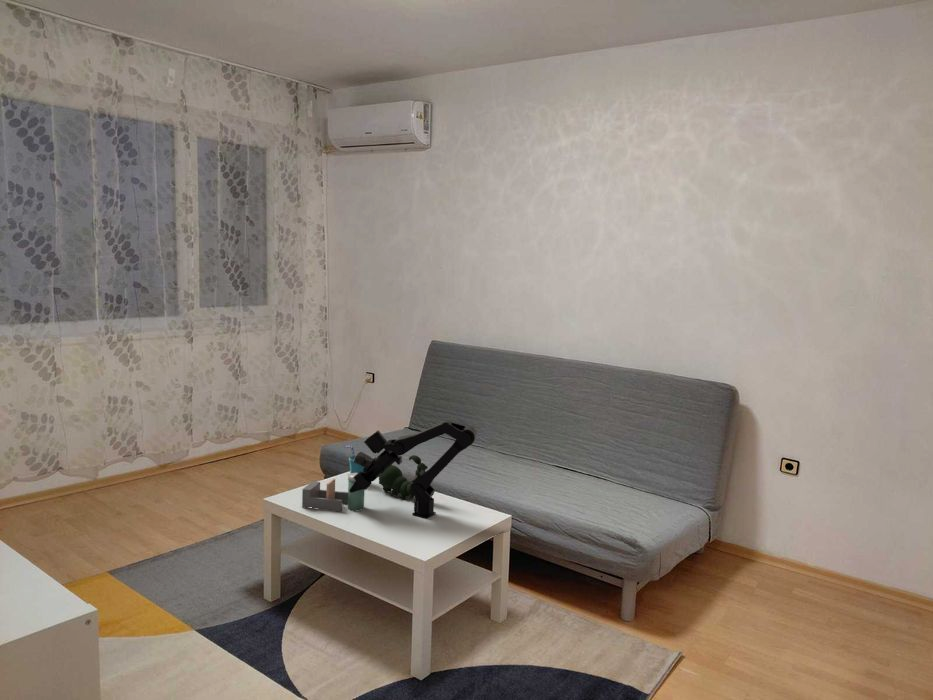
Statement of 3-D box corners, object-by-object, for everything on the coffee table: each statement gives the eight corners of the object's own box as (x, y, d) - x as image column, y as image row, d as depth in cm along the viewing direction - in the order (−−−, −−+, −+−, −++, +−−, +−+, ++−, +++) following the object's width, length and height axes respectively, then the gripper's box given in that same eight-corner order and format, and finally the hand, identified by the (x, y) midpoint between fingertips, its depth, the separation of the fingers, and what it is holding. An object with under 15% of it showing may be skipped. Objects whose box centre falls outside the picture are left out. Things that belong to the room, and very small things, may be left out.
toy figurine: (428, 503, 266) (383, 484, 280) (434, 457, 262) (387, 440, 277) (413, 509, 258) (366, 489, 273) (418, 461, 255) (371, 444, 270)
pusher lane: (349, 502, 257) (350, 484, 257) (341, 511, 247) (341, 492, 247) (312, 499, 260) (312, 481, 259) (302, 507, 250) (302, 489, 249)
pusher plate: (334, 501, 257) (335, 478, 256) (328, 507, 250) (328, 484, 249) (332, 501, 257) (333, 478, 256) (326, 507, 250) (326, 484, 249)
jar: (368, 507, 253) (368, 474, 252) (356, 512, 247) (357, 478, 246) (354, 503, 256) (355, 471, 255) (343, 508, 251) (344, 475, 249)
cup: (338, 480, 284) (339, 445, 283) (353, 477, 290) (354, 442, 288) (358, 488, 275) (359, 452, 273) (373, 484, 280) (374, 449, 279)
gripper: (375, 440, 258) (346, 466, 261) (360, 452, 240) (329, 480, 242) (394, 462, 258) (365, 487, 260) (380, 476, 239) (350, 503, 242)
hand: (352, 489), depth 251 cm, fingers closed on jar, 6 cm apart
